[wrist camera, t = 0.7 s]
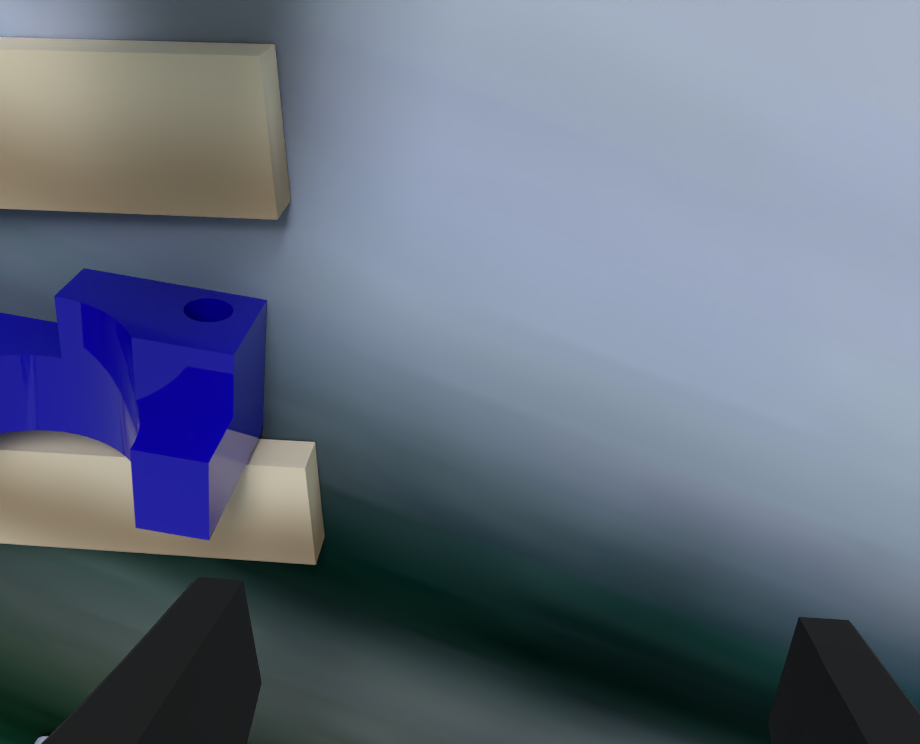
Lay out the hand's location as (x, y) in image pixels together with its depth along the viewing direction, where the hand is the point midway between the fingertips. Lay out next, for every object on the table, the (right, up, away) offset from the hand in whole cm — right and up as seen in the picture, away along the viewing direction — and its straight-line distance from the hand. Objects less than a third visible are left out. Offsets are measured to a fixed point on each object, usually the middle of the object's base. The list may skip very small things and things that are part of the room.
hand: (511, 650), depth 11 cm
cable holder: (-9, +5, +8) cm, 13 cm away
